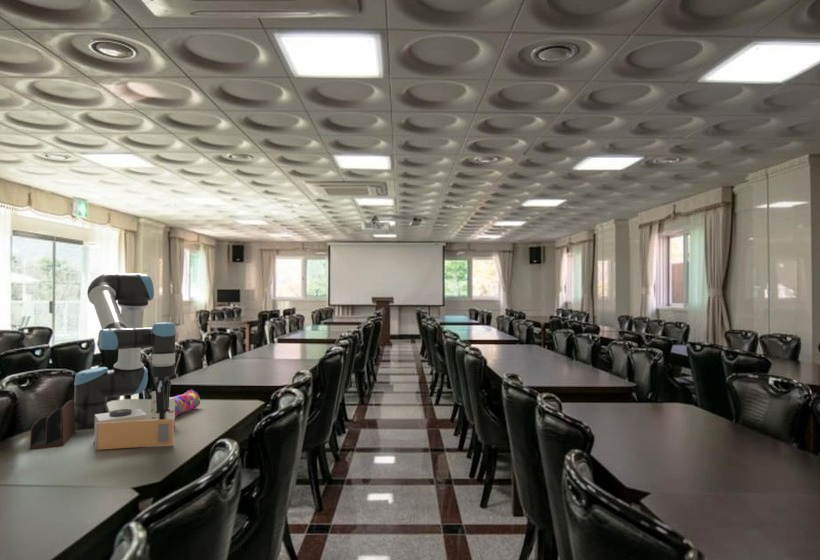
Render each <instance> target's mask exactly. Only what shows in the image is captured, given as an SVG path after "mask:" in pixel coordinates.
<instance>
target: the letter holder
mask: <svg viewBox="0 0 820 560" xmlns="http://www.w3.org/2000/svg"><path fill="white" fill-rule="evenodd" d="M75 433H76V429H75V406H74V399H70V400H68V401H67V402H65V403H64V405H63V406H62V407H61V408H60V407H59V408H56V409H55V410H53V411H51V413H50V414H49V415H48V416H47V415H43V416H41V417H39V418H38V419H37V420H36V421H35V422H34V423H33V425H32V426H31V429H30V438H29V439H30V440H29V450H36V449H37V450H38V449H47V448H55V447H56V448H57V447H63V446H64V445H65V444H66V443H67V442H68V441H69V440H70V438H72V437H73V435H74V434H75Z"/></svg>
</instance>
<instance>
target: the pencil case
mask: <svg viewBox="0 0 820 560" xmlns="http://www.w3.org/2000/svg"><path fill="white" fill-rule="evenodd" d="M171 397H172V398H175V417H176V415H177V416H179V415H182V414H184V412H185V413H187V412H189V411H192V410H194V408H195V409H197V408H198V407H199V406H200V404H201V397H200V394H199V392H197V391H194V389H189V390H187V391H186V392H184V393H183V394H177V395H175V396H171ZM196 407H197V408H196Z"/></svg>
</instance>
